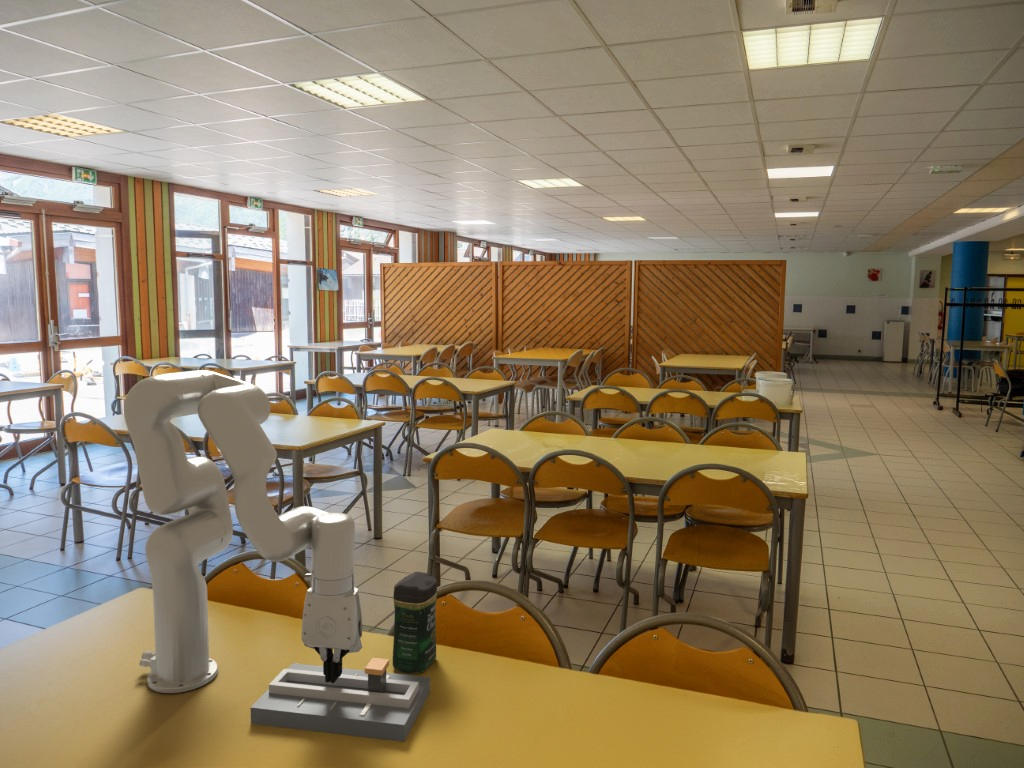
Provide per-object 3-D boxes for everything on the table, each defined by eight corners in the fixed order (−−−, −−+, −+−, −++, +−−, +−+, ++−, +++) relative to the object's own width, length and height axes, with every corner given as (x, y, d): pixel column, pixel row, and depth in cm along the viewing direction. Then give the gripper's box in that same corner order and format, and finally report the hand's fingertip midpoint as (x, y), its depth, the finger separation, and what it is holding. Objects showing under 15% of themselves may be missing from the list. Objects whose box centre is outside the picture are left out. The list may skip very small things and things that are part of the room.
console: (250, 723, 125) (250, 698, 125) (292, 677, 141) (292, 655, 140) (404, 741, 121) (404, 716, 120) (430, 692, 136) (430, 669, 136)
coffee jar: (423, 678, 141) (423, 588, 140) (387, 671, 144) (387, 583, 142) (442, 656, 151) (442, 571, 149) (407, 650, 153) (408, 566, 151)
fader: (364, 700, 128) (364, 668, 127) (372, 688, 132) (372, 657, 131) (381, 702, 127) (381, 670, 127) (389, 690, 131) (389, 659, 131)
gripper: (284, 586, 126) (284, 685, 128) (365, 594, 124) (364, 694, 126) (303, 571, 134) (303, 664, 136) (379, 578, 131) (378, 673, 133)
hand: (332, 678), depth 131 cm, fingers closed
